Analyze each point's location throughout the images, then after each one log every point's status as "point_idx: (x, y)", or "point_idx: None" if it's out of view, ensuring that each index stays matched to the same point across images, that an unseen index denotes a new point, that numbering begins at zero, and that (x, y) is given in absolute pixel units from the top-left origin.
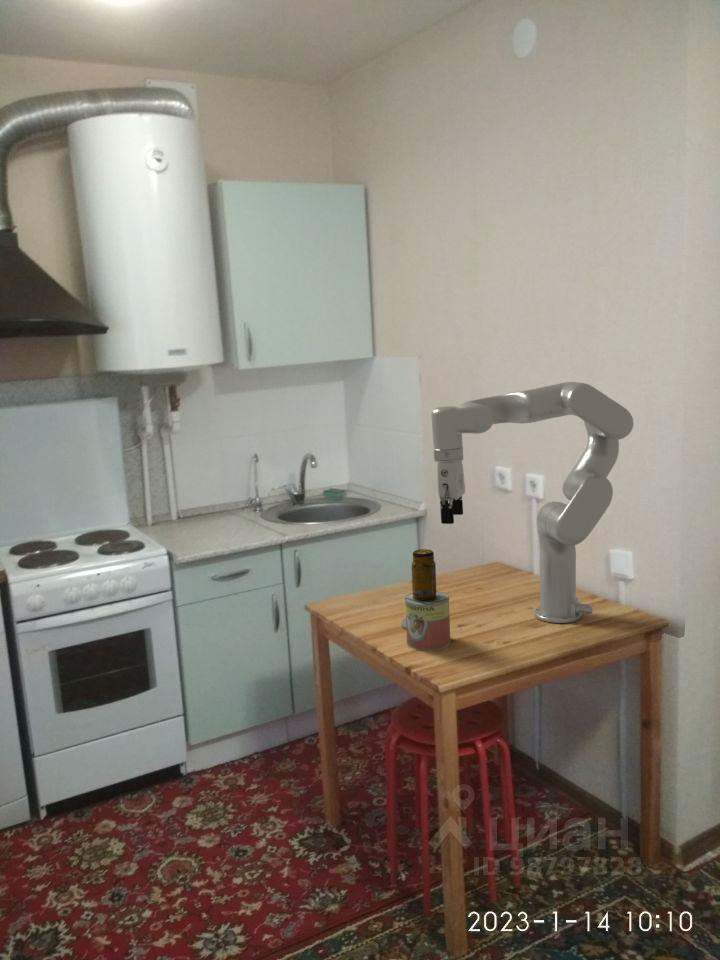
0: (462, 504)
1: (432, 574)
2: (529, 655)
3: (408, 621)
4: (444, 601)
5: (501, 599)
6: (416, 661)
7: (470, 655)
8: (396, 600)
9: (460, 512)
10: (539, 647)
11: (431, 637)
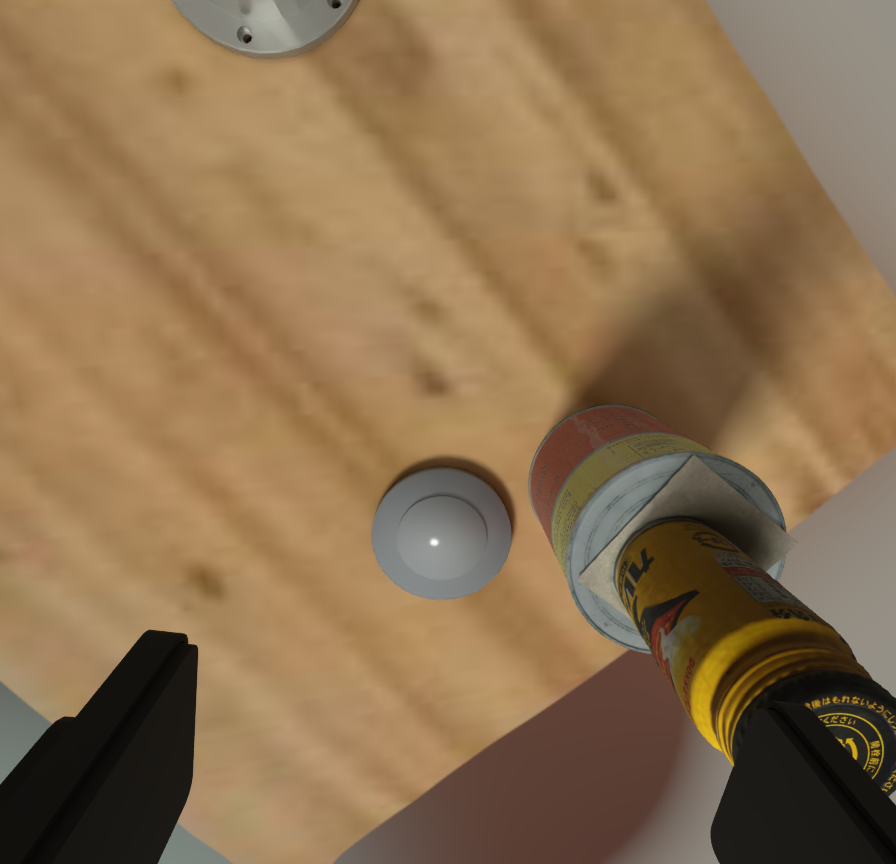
0: (39, 780)
1: (790, 594)
2: (736, 88)
3: None
4: (743, 469)
5: (80, 229)
6: None
7: (729, 322)
8: None
9: (178, 685)
10: (655, 42)
11: None
